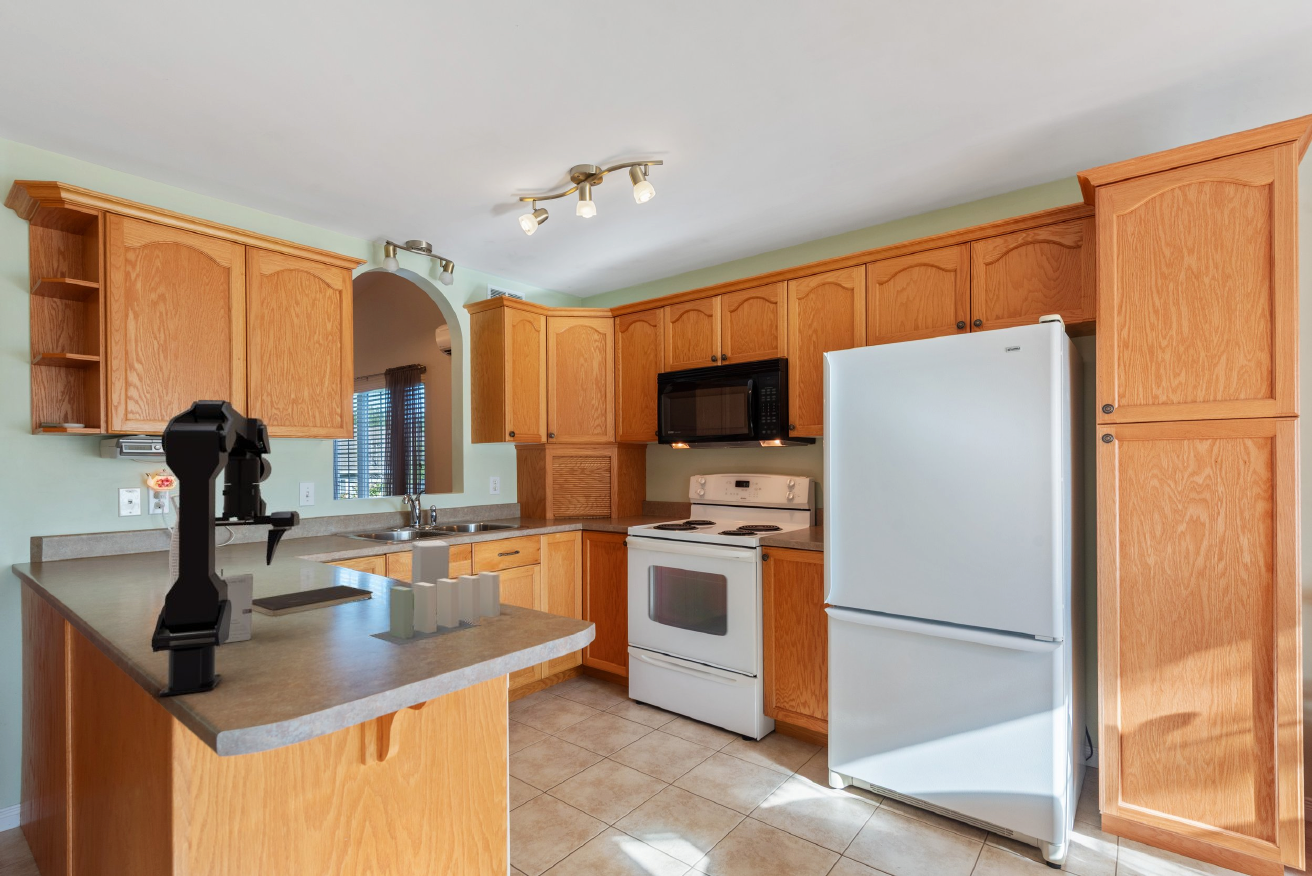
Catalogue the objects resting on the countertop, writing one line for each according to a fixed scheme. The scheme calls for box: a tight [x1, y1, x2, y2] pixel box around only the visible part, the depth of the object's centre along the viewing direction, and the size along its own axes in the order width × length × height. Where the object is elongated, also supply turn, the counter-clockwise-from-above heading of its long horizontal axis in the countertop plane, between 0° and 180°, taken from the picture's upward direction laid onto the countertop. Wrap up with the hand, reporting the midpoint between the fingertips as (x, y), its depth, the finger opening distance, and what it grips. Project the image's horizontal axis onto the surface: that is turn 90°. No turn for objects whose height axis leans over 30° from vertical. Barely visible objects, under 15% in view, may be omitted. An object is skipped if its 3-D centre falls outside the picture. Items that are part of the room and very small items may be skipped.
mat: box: [369, 619, 481, 646], centre depth 130 cm, size 26×11×1 cm, turn 141°
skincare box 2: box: [410, 539, 450, 613], centre depth 144 cm, size 8×7×16 cm
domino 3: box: [436, 578, 459, 628], centre depth 131 cm, size 2×5×9 cm, turn 51°
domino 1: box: [389, 585, 414, 639], centre depth 123 cm, size 2×5×9 cm, turn 51°
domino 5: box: [477, 571, 501, 617], centre depth 138 cm, size 2×5×9 cm, turn 51°
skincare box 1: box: [214, 573, 254, 644], centre depth 124 cm, size 6×4×12 cm
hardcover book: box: [252, 584, 374, 617], centre depth 156 cm, size 16×23×2 cm
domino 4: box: [457, 574, 480, 623], centre depth 135 cm, size 2×5×9 cm, turn 51°
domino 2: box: [413, 582, 437, 633], centre depth 127 cm, size 2×5×9 cm, turn 51°
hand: (241, 566), depth 122 cm, fingers open, 9 cm apart
